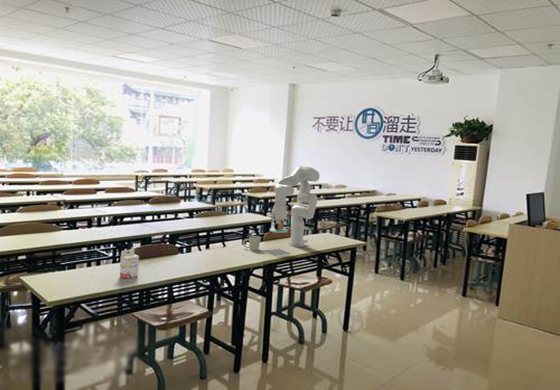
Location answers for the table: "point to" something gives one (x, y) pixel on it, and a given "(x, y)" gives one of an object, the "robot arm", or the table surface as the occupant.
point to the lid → (279, 228)
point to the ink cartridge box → (129, 264)
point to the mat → (276, 252)
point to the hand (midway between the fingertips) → (278, 228)
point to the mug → (253, 242)
